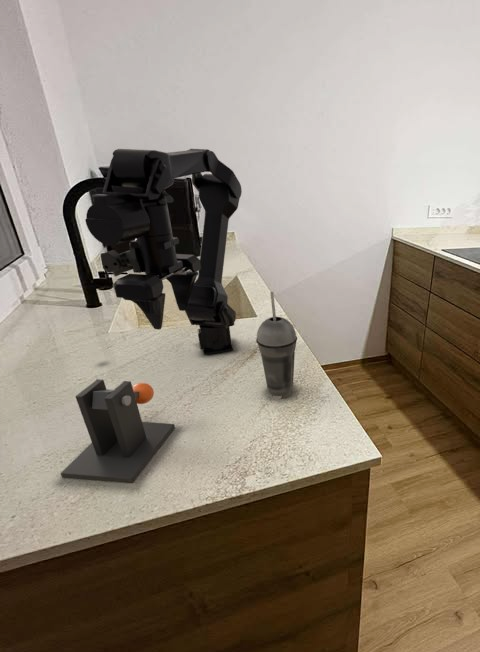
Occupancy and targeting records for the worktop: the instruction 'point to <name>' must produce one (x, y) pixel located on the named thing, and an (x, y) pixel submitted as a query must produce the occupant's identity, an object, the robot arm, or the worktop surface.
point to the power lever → (141, 393)
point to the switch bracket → (115, 437)
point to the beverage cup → (277, 353)
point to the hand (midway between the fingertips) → (170, 319)
